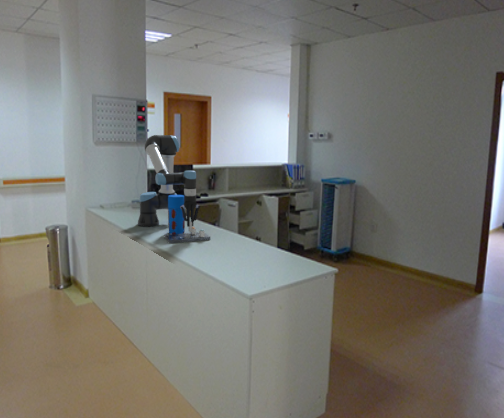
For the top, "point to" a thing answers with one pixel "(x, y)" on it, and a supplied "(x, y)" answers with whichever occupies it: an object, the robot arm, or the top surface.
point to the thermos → (176, 214)
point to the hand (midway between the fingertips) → (190, 231)
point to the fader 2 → (201, 233)
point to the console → (185, 237)
